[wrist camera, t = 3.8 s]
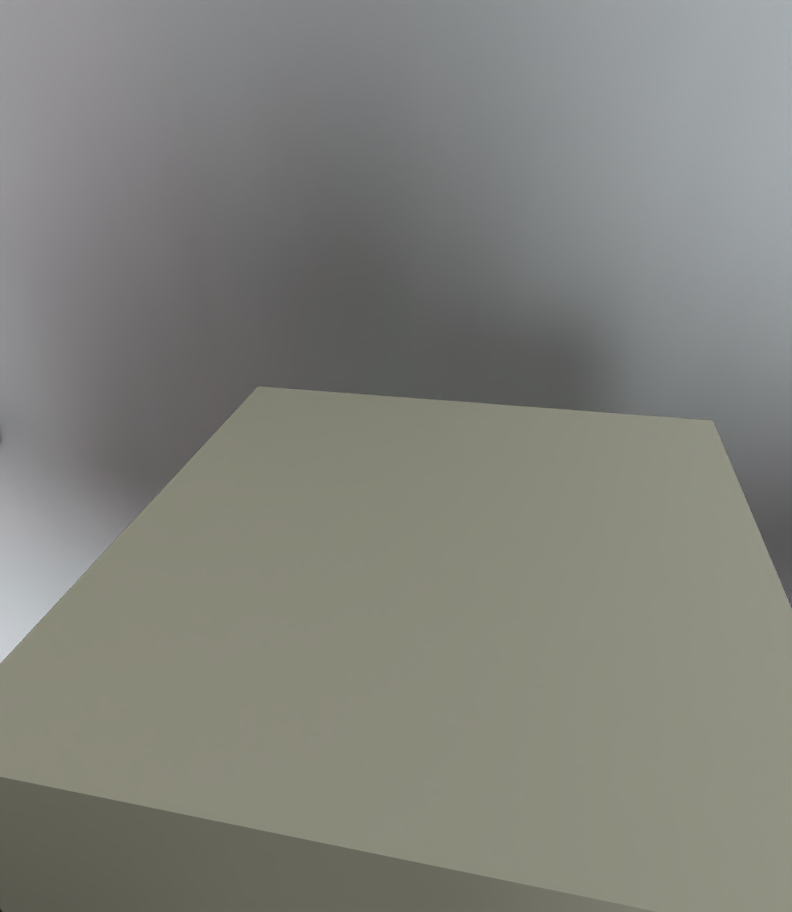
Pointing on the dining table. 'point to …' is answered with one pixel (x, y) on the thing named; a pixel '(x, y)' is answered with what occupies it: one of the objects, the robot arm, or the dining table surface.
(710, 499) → the pale green block
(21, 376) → the dining table surface
